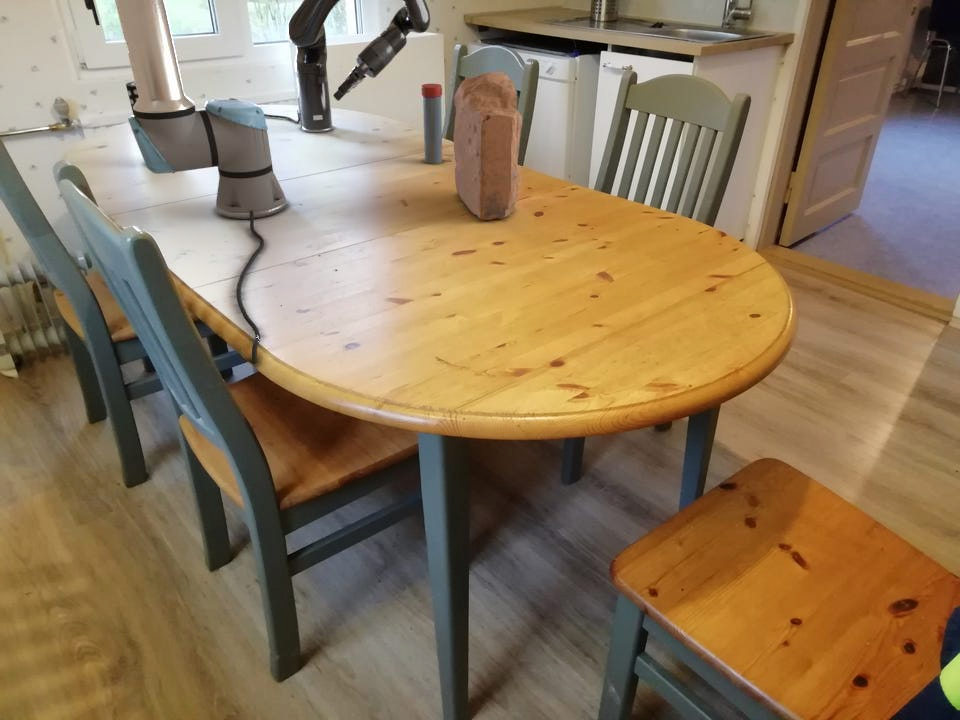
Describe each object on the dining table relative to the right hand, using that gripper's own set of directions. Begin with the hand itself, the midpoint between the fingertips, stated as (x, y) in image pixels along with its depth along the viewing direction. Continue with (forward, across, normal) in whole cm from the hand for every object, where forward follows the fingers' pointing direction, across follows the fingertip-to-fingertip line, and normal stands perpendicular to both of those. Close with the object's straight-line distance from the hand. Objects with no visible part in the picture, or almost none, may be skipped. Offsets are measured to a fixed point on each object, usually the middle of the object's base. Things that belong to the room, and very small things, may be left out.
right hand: (337, 95), depth 198 cm
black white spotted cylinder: (+42, +2, -27) cm, 50 cm away
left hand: (+29, +8, -45) cm, 54 cm away
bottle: (-2, +20, +30) cm, 36 cm away
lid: (-12, +28, +16) cm, 34 cm away
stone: (+6, +54, +42) cm, 69 cm away
